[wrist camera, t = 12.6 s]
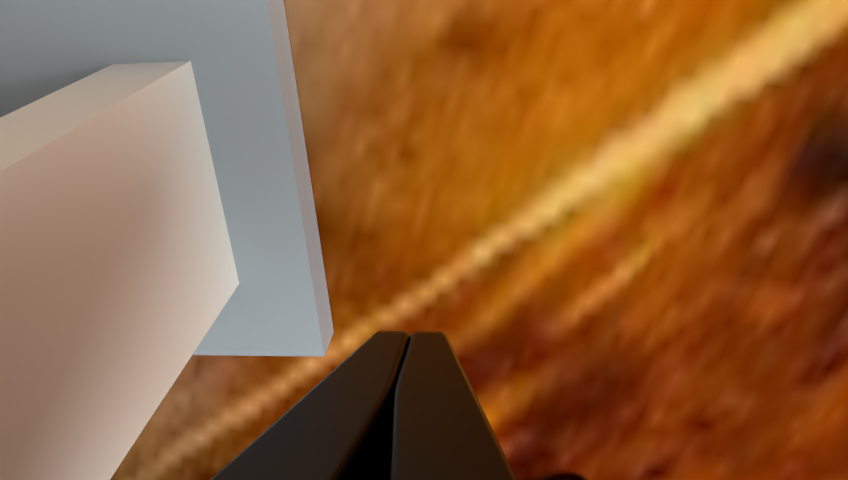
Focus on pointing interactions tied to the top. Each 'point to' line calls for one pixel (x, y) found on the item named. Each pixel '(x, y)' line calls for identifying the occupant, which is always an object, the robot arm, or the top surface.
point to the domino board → (227, 136)
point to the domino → (103, 265)
